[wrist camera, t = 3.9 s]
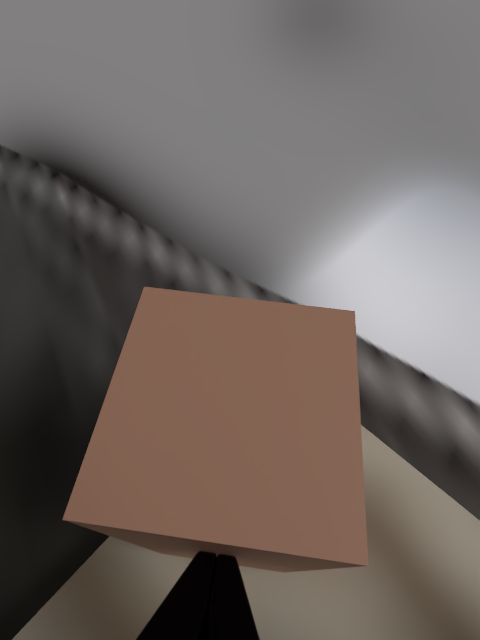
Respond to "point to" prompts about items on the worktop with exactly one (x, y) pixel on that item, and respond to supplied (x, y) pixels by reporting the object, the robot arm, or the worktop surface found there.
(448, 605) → the maple board
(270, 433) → the terracotta block
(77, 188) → the worktop surface
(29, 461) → the worktop surface
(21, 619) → the worktop surface
